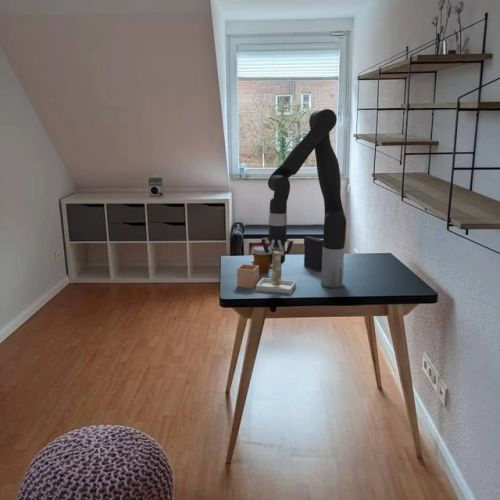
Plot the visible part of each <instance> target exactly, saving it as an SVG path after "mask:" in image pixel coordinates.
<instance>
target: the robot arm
mask: <svg viewBox="0 0 500 500" xmlns="http://www.w3.org/2000/svg"><path fill="white" fill-rule="evenodd" d="M337 120H338V119H337V115H336V113H335V111H334V110H332V109H330V108H321V109H316V110H315V111H313V112H312V113H311V114H310V116H309V120H308V123H309V131H308V132H307V134H306V135H305V136H304V137H303V138H302V140H300V141H299V142H298V143H297V144H296V145H295V146H294V147H293V148H292V150H291V151H290V152H289V153H288V155H287V156H286V158H285V159H284V161H283V162H282V163H281V164H280V166H278V167H277V168H276V169H275V170H274V171H273V173H271V175H270V176H269V178H268V181H267V187H268V188H269V189H270V190H271V191H272V192H273V198H271V199H270V201H269V216H268V236H267V237H263V238H261V241H260V242H262V245H263V247H264V251H265V252H267V253H269V261H270V263H272V253H273V252H274V250H275V248H279V252H281V264H284V263H285V261H286V255H288V254H289V253H290V252H291V249H292V246H293V244H294V240H293V239H288V237H287V233H288V231H287V229H288V226H287V225H288V217H287V216H288V215H287V214H288V213H287V208H288V206H287V205H288V200H289V196H290V191H291V182H290V180H289V178H290V177H291V176H294V175H296V174H297V173H298V172H299V170H300V169H301V168H302V167H303V165H304V163H305V162H306V160H307V159H308V158H309V156H310V155H311V153H312V152H314V155H315V162H316V171H317V178H318V183H319V187H320V192H321V195H322V197H323V203H324V219H323V234H322V235H323V239H322V240H323V255H322V271H321V275H320V276H321V277H320V284H321V286H323V287H325V288H331V289H334V288H342V286H343V284H344V270H345V263H344V262H345V261H344V259H345V258H344V257H345V247H346V246H345V245H346V244H345V243H346V232H347V218H346V214H345V212H344V208H343V203H342V199H341V198H342V197H341V193H342V191H341V189H342V186H341V185H342V184H341V183H342V182H341V171H340V164H339V159H338V157H337V155H336V153H335V151H334V149H333V146H332V143H331V137H330V133H331V131H332V130H333V129H334V128H335V127H336V124H337ZM268 242H269V245H270V250H269V248H268V245H267V244H268ZM286 243H287V245H288V246H287V247H286V248H287V249H285V244H286Z"/></svg>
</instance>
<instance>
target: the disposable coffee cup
mask: <svg viewBox="0 0 500 500" xmlns="http://www.w3.org/2000/svg"><path fill="white" fill-rule="evenodd" d="M254 246H255V245H254ZM254 246H253V247H252V251H251V252H252V255H253V261H254V265H257V266H259V275H267V274H269V271H270V269H269V266H270V261H269V253H267V252H265V251H264V247H263V246H255V247H254ZM268 248H269V250H270V247H269V246H268Z"/></svg>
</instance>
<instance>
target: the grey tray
mask: <svg viewBox="0 0 500 500" xmlns="http://www.w3.org/2000/svg"><path fill="white" fill-rule="evenodd" d="M296 287H297V281H296V280H289V279H288V280H287V279H281V285H279V286H274V285H272V278H270V277H268V278H267V277H262V278H261V279H259V282H258V284H257V285H256V286H255V291H256V292H263V293H271V294H278V295H279V294H280V295H288V296H290V295H291V294H292V293H293V291H294V290H295V288H296Z"/></svg>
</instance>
